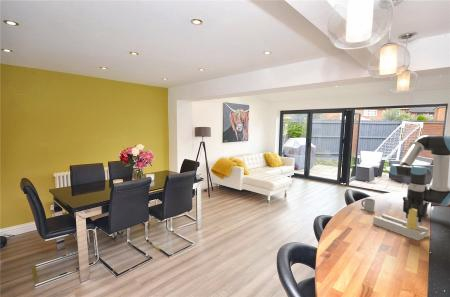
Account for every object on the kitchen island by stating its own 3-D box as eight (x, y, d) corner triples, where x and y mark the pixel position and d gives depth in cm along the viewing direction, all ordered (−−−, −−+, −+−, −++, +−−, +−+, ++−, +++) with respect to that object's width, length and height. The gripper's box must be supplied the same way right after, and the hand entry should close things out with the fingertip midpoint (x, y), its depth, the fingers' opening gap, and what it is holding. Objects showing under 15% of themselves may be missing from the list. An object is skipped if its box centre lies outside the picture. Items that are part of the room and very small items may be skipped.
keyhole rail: (383, 220, 169) (383, 213, 168) (428, 235, 145) (429, 228, 144) (372, 223, 162) (373, 216, 162) (417, 240, 138) (418, 232, 138)
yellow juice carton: (411, 225, 150) (413, 207, 148) (418, 227, 146) (420, 209, 145) (406, 227, 146) (408, 209, 145) (413, 229, 143) (415, 211, 142)
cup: (371, 212, 184) (372, 201, 183) (358, 208, 192) (359, 198, 191) (375, 210, 188) (376, 200, 187) (362, 206, 196) (363, 197, 195)
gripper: (398, 187, 150) (395, 221, 152) (430, 194, 135) (426, 231, 137) (404, 186, 153) (400, 219, 155) (436, 193, 138) (432, 229, 140)
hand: (412, 224), depth 146 cm, fingers closed on yellow juice carton, 4 cm apart
